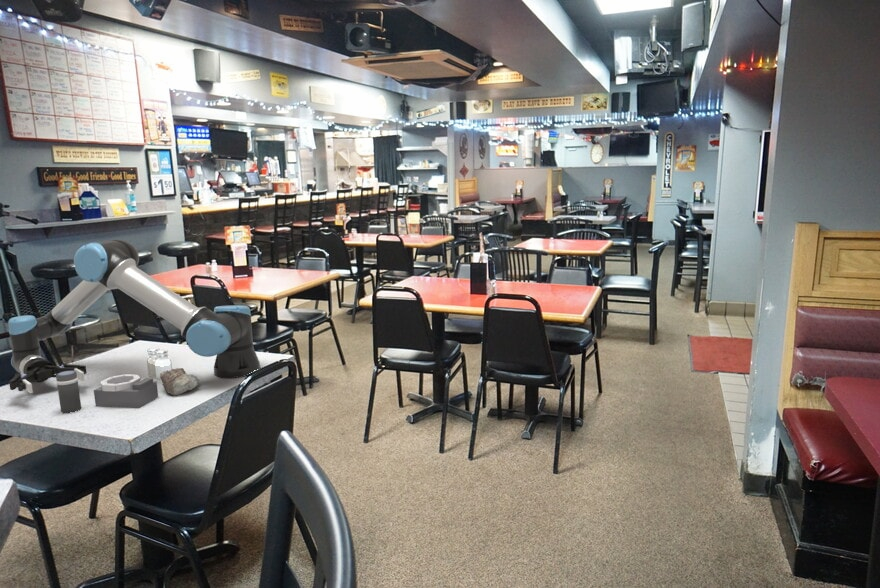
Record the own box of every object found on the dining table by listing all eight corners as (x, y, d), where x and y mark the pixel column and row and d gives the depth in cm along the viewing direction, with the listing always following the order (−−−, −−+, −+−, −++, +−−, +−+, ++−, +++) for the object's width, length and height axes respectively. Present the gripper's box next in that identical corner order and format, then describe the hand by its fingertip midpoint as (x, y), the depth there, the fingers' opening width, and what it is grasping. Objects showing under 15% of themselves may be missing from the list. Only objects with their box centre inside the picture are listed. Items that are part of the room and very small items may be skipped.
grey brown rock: (205, 384, 181) (183, 359, 178) (179, 405, 177) (156, 380, 174) (198, 379, 193) (177, 356, 190) (174, 399, 189) (152, 376, 186)
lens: (86, 407, 171) (81, 370, 169) (72, 414, 166) (67, 376, 164) (70, 406, 171) (65, 369, 169) (56, 413, 166) (50, 375, 164)
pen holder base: (159, 396, 178) (156, 375, 177) (138, 408, 169) (135, 386, 167) (117, 394, 180) (115, 373, 179) (94, 406, 171) (91, 384, 169)
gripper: (81, 370, 197) (104, 383, 184) (-10, 390, 179) (9, 406, 165) (78, 349, 196) (101, 360, 182) (-13, 366, 178) (5, 381, 164)
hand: (57, 382), depth 174 cm, fingers open, 13 cm apart
